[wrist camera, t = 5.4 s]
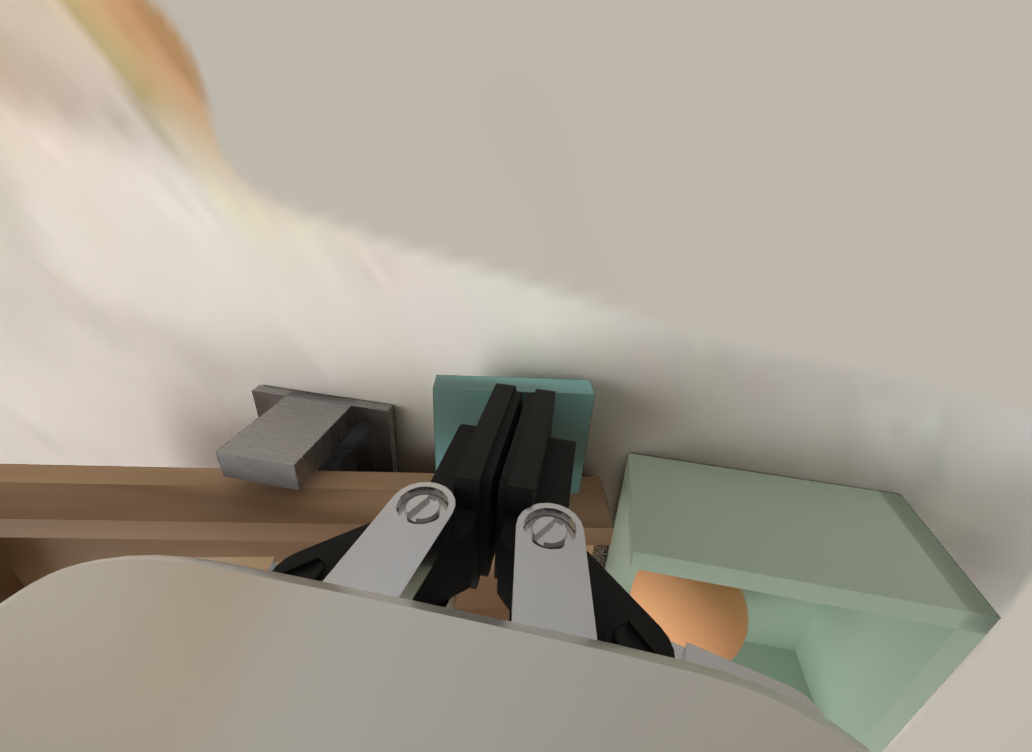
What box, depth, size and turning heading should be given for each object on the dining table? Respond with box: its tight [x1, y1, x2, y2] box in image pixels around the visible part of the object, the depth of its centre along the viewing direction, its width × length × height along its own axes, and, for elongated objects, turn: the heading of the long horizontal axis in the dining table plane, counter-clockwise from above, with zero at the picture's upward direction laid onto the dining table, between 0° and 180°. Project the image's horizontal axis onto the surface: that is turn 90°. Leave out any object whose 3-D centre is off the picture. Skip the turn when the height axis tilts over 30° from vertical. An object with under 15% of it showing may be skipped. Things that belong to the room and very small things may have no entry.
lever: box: [0, 375, 614, 621], centre depth 14 cm, size 10×20×2 cm, turn 86°
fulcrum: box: [216, 385, 399, 490], centre depth 16 cm, size 9×5×4 cm, turn 177°
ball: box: [631, 570, 749, 661], centre depth 15 cm, size 4×4×4 cm
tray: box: [604, 453, 1001, 752], centre depth 14 cm, size 8×8×4 cm
